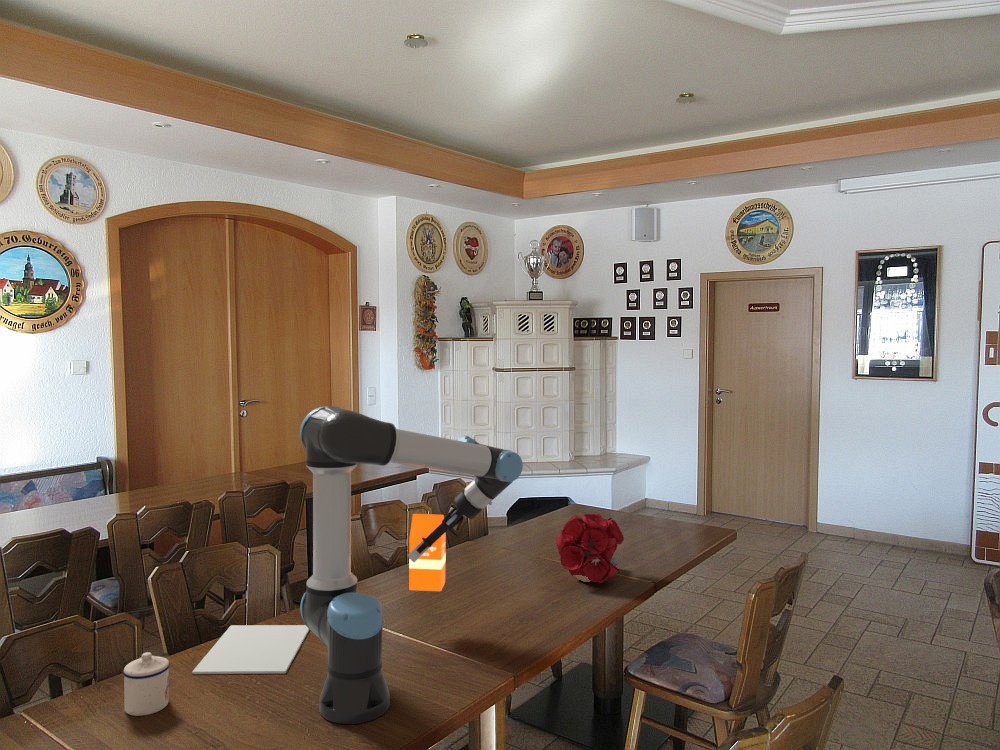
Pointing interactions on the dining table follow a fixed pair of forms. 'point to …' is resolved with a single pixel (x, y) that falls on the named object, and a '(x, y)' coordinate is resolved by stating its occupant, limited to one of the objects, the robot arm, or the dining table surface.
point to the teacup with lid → (146, 685)
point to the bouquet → (590, 546)
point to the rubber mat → (254, 650)
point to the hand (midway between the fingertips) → (416, 554)
